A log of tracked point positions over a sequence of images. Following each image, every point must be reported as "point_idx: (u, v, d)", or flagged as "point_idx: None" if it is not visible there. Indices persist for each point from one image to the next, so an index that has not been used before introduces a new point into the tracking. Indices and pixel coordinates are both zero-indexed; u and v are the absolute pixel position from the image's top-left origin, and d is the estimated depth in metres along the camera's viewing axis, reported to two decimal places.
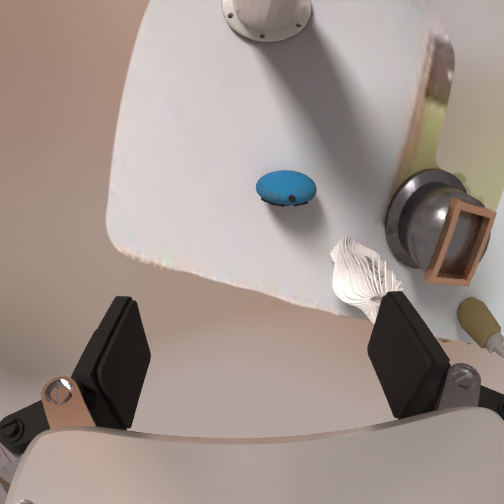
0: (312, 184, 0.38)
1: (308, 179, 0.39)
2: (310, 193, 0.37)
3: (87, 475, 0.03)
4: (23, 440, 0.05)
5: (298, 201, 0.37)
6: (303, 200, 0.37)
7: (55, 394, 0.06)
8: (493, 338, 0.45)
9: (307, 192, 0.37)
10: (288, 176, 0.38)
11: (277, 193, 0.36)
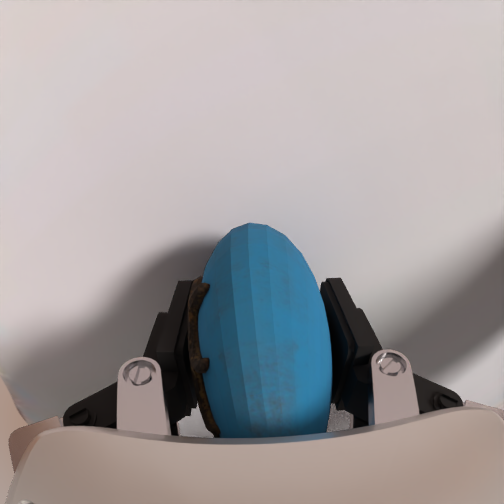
0: None
1: None
2: None
3: (87, 475, 0.03)
4: None
5: None
6: None
7: (134, 375, 0.07)
8: None
9: None
10: None
11: None
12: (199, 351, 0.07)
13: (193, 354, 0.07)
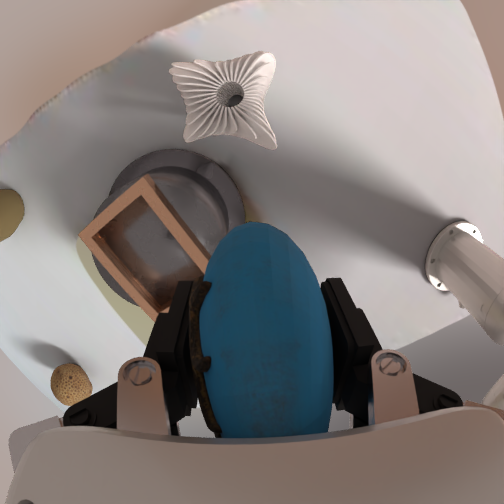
0: None
1: None
2: None
3: (87, 475, 0.03)
4: None
5: None
6: None
7: (134, 375, 0.07)
8: None
9: None
10: (333, 376, 0.08)
11: None
12: (200, 350, 0.07)
13: (194, 353, 0.07)
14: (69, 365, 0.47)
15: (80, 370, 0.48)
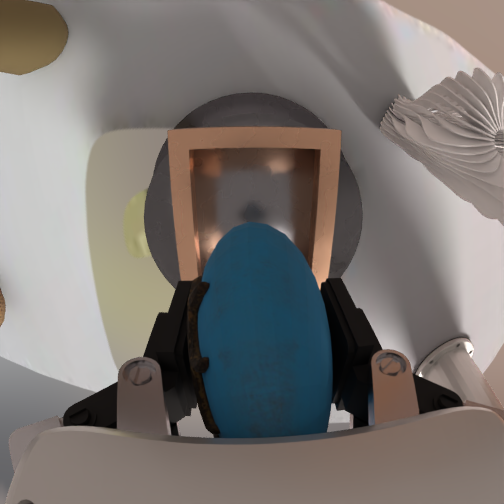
0: None
1: None
2: None
3: (87, 475, 0.03)
4: None
5: None
6: None
7: (134, 375, 0.07)
8: None
9: None
10: None
11: None
12: (199, 351, 0.07)
13: (193, 354, 0.07)
14: None
15: (0, 296, 0.30)
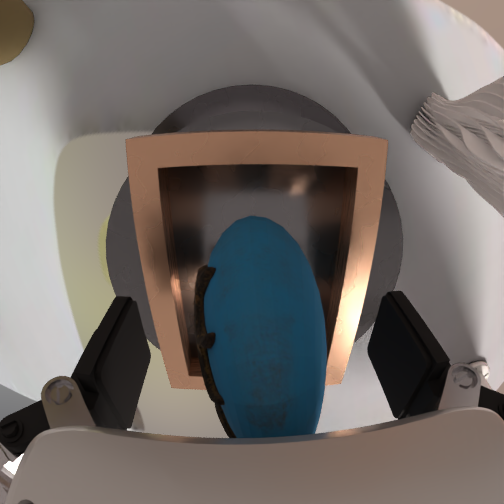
0: None
1: None
2: None
3: (87, 475, 0.03)
4: (23, 440, 0.05)
5: None
6: None
7: (55, 394, 0.06)
8: None
9: None
10: None
11: (288, 405, 0.06)
12: (205, 329, 0.08)
13: (199, 332, 0.08)
14: None
15: None
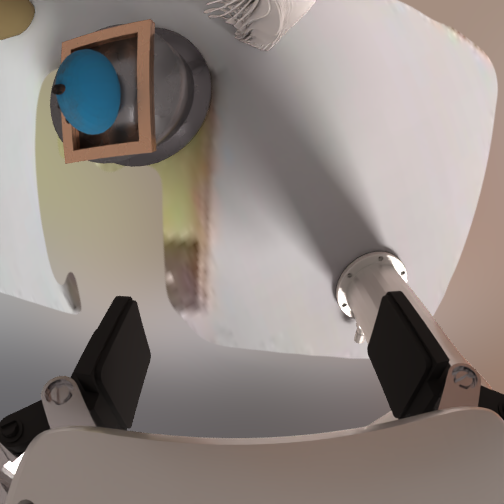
0: (95, 122, 0.20)
1: (104, 116, 0.21)
2: (75, 118, 0.18)
3: (87, 475, 0.03)
4: (23, 440, 0.05)
5: (59, 102, 0.17)
6: (62, 110, 0.17)
7: (55, 394, 0.06)
8: None
9: (74, 113, 0.18)
10: (101, 83, 0.19)
11: (66, 67, 0.16)
12: None
13: None
14: None
15: None
